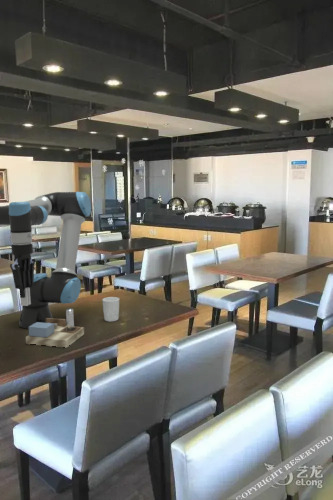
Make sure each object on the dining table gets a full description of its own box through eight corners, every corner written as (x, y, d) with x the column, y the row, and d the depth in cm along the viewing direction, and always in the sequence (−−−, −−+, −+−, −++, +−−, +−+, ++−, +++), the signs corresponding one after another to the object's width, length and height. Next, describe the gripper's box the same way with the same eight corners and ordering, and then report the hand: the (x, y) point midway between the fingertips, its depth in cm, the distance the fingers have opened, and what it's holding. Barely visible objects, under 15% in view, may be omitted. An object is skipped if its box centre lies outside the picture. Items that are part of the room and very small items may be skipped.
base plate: (26, 344, 166) (25, 329, 165) (46, 330, 181) (46, 317, 180) (66, 347, 161) (65, 333, 160) (84, 333, 177) (83, 320, 176)
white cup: (116, 322, 191) (116, 301, 190) (100, 321, 193) (100, 301, 192) (121, 317, 199) (121, 297, 198) (106, 316, 201) (105, 296, 199)
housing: (29, 335, 166) (28, 326, 165) (37, 330, 172) (36, 322, 171) (46, 337, 164) (46, 328, 163) (54, 332, 170) (54, 323, 169)
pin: (65, 337, 172) (64, 310, 170) (69, 335, 175) (68, 308, 173) (72, 338, 171) (71, 310, 169) (75, 336, 174) (74, 308, 172)
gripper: (19, 246, 145) (23, 310, 148) (41, 241, 158) (44, 300, 162) (1, 245, 147) (5, 309, 150) (23, 241, 160) (27, 299, 163)
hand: (25, 304), depth 156 cm, fingers closed
